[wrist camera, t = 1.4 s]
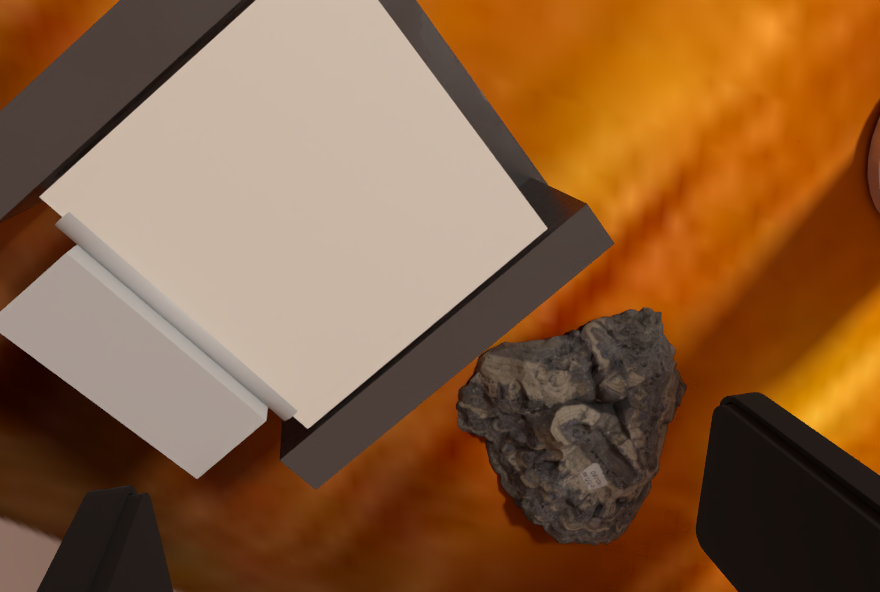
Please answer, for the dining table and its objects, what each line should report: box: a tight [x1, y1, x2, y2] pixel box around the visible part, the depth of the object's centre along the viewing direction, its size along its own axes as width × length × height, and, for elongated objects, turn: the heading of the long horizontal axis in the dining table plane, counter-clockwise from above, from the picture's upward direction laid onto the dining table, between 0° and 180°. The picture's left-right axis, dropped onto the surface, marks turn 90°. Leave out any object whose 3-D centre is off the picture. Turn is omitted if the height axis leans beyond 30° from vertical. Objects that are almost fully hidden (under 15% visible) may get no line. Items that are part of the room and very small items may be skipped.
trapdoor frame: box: [0, 0, 614, 490], centre depth 28 cm, size 19×20×8 cm
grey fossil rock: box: [456, 307, 686, 545], centre depth 40 cm, size 19×4×15 cm
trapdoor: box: [0, 0, 548, 479], centre depth 25 cm, size 18×14×3 cm
